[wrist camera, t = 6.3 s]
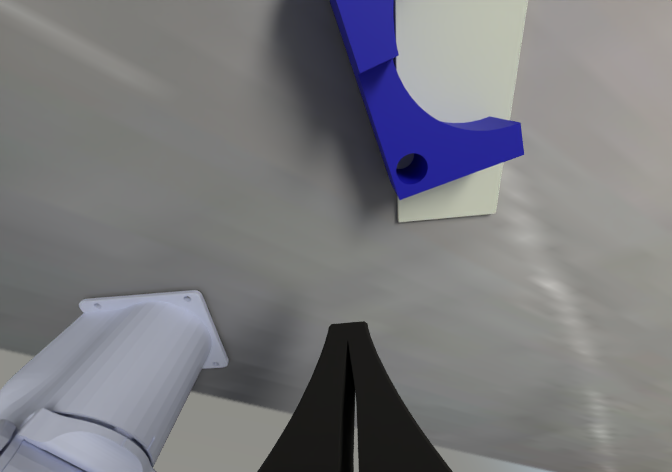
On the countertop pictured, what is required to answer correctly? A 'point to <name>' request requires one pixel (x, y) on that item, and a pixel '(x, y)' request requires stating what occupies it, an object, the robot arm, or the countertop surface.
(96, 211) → the countertop surface
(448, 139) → the cable clip
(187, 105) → the countertop surface
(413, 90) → the mat
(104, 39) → the countertop surface
